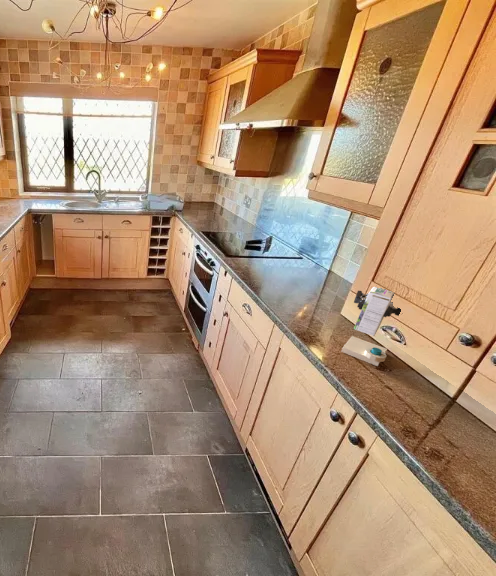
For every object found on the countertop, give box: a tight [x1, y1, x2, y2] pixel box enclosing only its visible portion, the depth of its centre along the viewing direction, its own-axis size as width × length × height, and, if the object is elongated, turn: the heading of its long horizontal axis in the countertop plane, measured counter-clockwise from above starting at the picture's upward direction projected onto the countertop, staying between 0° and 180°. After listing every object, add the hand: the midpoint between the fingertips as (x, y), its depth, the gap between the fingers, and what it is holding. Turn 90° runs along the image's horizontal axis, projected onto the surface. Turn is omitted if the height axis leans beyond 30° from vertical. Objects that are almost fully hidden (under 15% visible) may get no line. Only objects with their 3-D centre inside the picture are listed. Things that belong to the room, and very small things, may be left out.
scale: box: [340, 335, 388, 367], centre depth 103 cm, size 11×11×4 cm
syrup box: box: [353, 286, 395, 337], centre depth 100 cm, size 6×6×14 cm
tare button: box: [371, 347, 382, 356], centre depth 98 cm, size 2×2×2 cm
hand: (372, 310), depth 98 cm, fingers closed on syrup box, 6 cm apart
